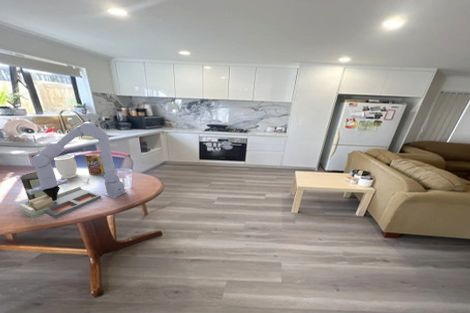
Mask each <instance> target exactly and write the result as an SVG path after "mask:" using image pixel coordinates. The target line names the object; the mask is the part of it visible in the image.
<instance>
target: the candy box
mask: <svg viewBox="0 0 470 313" xmlns="http://www.w3.org/2000/svg"><path fill="white" fill-rule="evenodd" d="M84 158H85V161H86V166H87V170H88V173H89V175H104V174H105V172H104V164H103V159H102V155H101V153H98V154H97V153H95V154H94V153H93V154H92V153H88V154H86V155H85V156H84Z"/></svg>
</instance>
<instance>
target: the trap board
mask: <svg viewBox="0 0 470 313" xmlns="http://www.w3.org/2000/svg"><path fill="white" fill-rule="evenodd" d="M101 199H102V196H101V195H100V194H97V193H95V192H91V191H89V190H86V189H83V188H82V187H81V186H80V185H78V186H75V187H72V188H69V189H67V190H64V191H61V192H58V194H57V200H56V201H53V204H54V205H51V206H49V207H46V208H44V209H41V210H39V211H37V210H34V209H33V208H31V206H30V204H29V203H27V204H24V203H21V204H19V206H20V208H21V211H22V214H24V215H27V216H29V217H30V218H32V219H37V218H39V217H41V216H43V215H48V216H50V217H51V218H54V219H56V220H57V219H58V218H60V217H63V216H65V215H68V214H70V213H72V212H74V211H77V210H78V209H81V208H83V207H86V206H88V205H89V204H93V203H95V202H97V201H98V200H101Z"/></svg>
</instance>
